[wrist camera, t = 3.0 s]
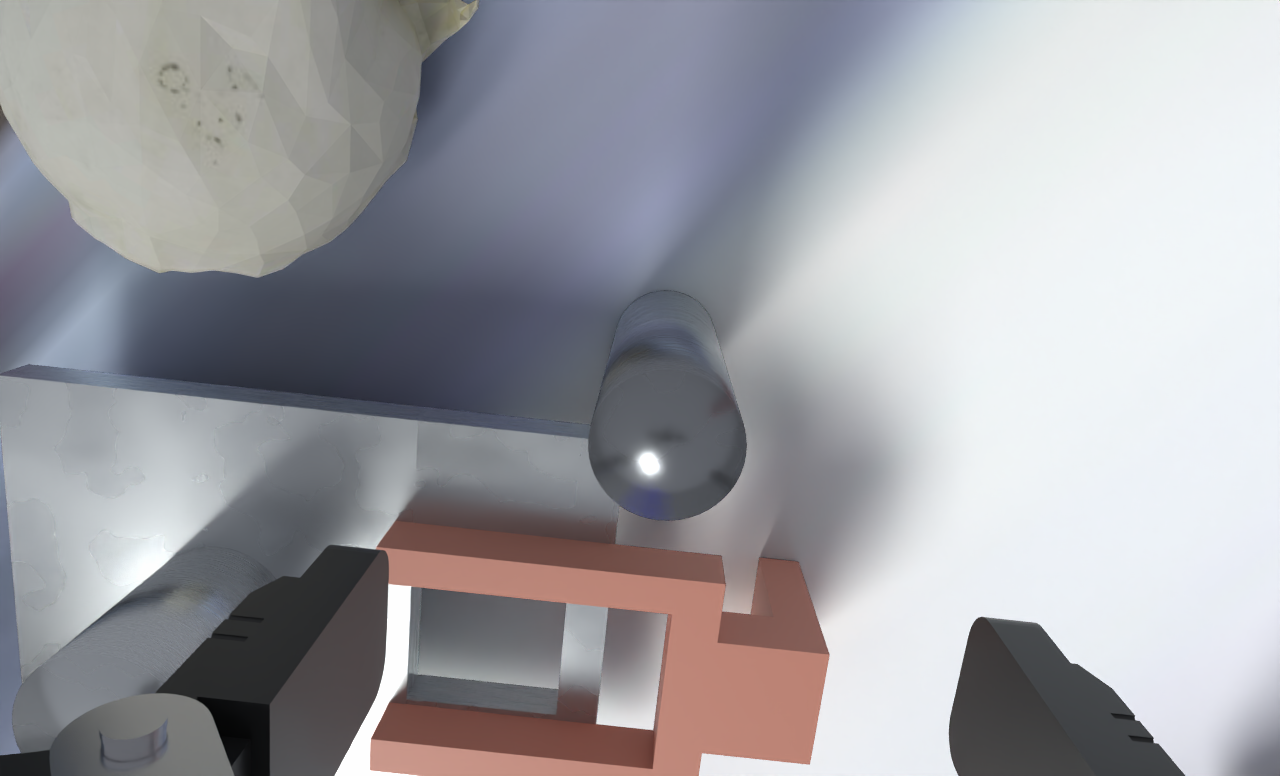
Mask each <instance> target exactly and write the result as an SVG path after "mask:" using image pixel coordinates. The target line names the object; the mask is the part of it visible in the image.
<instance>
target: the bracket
mask: <svg viewBox="0 0 1280 776" xmlns="http://www.w3.org/2000/svg"><path fill="white" fill-rule="evenodd" d="M376 549H377V550H385V551H386V553H387V555H388V560H389V584H392V585H401V586H411V587H420V588H429V589H439V590H448V591H457V592H467V593H476V594H486V595H495V596H504V597H514V598H523V599H532V600H542V601H551V602H560V603H570V604H579V605H588V606H598V607H607V608H616V609H626V610H635V611H644V612H654V613H663V614H668V617H667V625H666V633H665V641H664V649H663V657H662V665H661V673H660V681H659V689H658V697H657V705H656V713H655V721H654V729H653V730H645V729H635V728H626V727H617V726H607V725H598V724H588V723H579V722H570V721H560V720H551V719H542V718H532V717H523V716H513V715H504V714H495V713H485V712H476V711H466V710H457V709H448V708H438V707H429V706H420V705H410V704H401V703H391V702H389V703H388V705H387V707H386V709H385V711H384V713H383V715H382V717H381V719H380V721H379V723H378V725H377V727H376V729H375V731H374V733H373V735H372V737H371V739H370V766H369V771H377V772H386V773H396V774H405V775H415V776H699V769H700V762H701V755H702V753H706V754H716V755H725V756H734V757H744V758H753V759H762V760H772V761H781V762H791V763H800V764H809V765H810V760H811V755H812V749H813V744H814V738H815V733H816V727H817V721H818V716H819V710H820V705H821V699H822V694H823V688H824V683H825V677H826V671H827V666H828V660H829V652H828V649H827V646H826V643H825V640H824V637H823V634H822V631H821V628H820V625H819V622H818V619H817V616H816V613H815V610H814V607H813V604H812V601H811V598H810V595H809V592H808V589H807V586H806V583H805V580H804V577H803V574H802V571H801V568H800V565H799V562H797V561H787V560H778V559H769V558H759V563H758V569H757V576H756V582H755V589H754V596H753V602H752V609H751V615H750V614H741V613H731V612H722V607H723V600H724V593H725V586H726V583H725V576H724V569H723V563H722V556H720V555H710V554H701V553H692V552H682V551H673V550H664V549H654V548H645V547H636V546H626V545H617V544H608V543H598V542H589V541H580V540H570V539H561V538H552V537H542V536H533V535H524V534H514V533H505V532H496V531H486V530H477V529H468V528H458V527H449V526H440V525H430V524H421V523H412V522H402V521H395V522H394V523H393V525H392V526H391V527H390V529H389V530H388V532H387V533H386V534H385V536H384V537H383V538H382V540H381V541H380V542H379V544H378V545H377V547H376Z"/></svg>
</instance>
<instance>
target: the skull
mask: <svg viewBox="0 0 1280 776" xmlns="http://www.w3.org/2000/svg"><path fill="white" fill-rule="evenodd" d="M478 7H479V0H475V1H473V2H472V3H470V4H467V3H465V2H463V1H461V0H0V104H1V107H2V110H3V112H4V115H5V116H6V118H7V120H8V121H9V123H10V125H11V126H12V128H13V130H14V131H15V133H16V135H17V136H18V138H19V140H20V141H21V143H22V145H23V147H24V148H25V150H26V152H27V153H28V155H29V157H30V158H31V160H32V162H33V163H34V164H35V166H36V167H37V168H38V169H39V170H40V172H41V173H42V174H43V175H44V176H45V178H46V179H47V180H48V181H49V182H50V183H51V184H52V185H53V186H54V187H55V188H56V189H57V190H58V191H59V192H60V193H61V194H62V195H63V196H64V197H65V198H66V199H67V200H68V201H69V206H70V211H71V217H72V218H73V220H74V221H75V222H76V223H77V224H78V225H79V226H80V227H82V228H83V229H84V230H85V231H87V232H88V233H89V234H90V235H91V236H93V237H94V238H95V239H97V240H99V241H100V242H102V243H104V244H105V245H107V246H108V247H110V248H111V249H113V250H114V251H116V252H117V253H118V254H120V255H121V256H123V257H124V258H126V259H128V260H130V261H132V262H135V263H137V264H139V265H141V266H144V267H146V268H148V269H151V270H153V271H155V272H158V273H163V272H168V271H180V272H189V273H195V272H204V271H212V270H215V271H223V272H230V273H237V274H242V275H247V276H252V277H257V278H259V277H262V276H265V275H268V274H270V273H273V272H276V271H279V270H282V269H284V268H285V267H287V266H288V265H289V264H291V263H292V262H294V261H295V260H296V259H298V258H299V257H300V256H302V255H303V254H305V253H307V252H310V251H312V250H314V249H316V248H318V247H321V246H323V245H325V244H327V243H330V242H331V241H332V240H333V239H335V238H336V237H337V236H338V235H340V234H341V233H342V232H344V231H345V230H346V229H347V228H348V227H349V226H350V225H351V224H352V223H353V222H354V221H355V220H356V219H357V217H358V216H359V215H360V214H361V213H362V212H363V211H364V209H365V208H366V207H367V206H368V204H369V203H370V202H371V200H372V199H373V198H374V197H375V195H376V194H377V193H378V191H379V190H380V189H381V188H382V186H383V185H384V184H385V183H386V181H387V180H388V179H389V178H390V177H391V176H392V175H393V174H394V173H395V172H396V171H397V170H398V169H399V168H400V167H401V166H402V165H403V164H404V163H405V162H406V161H407V158H408V154H409V151H410V147H411V143H412V139H413V135H414V132H415V128H416V124H417V120H418V118H417V111H416V107H417V103H418V100H419V96H420V81H421V64H422V62H423V61H424V60H425V59H426V58H427V57H429V56H430V55H431V54H432V53H433V52H434V51H435V50H436V49H437V48H438V47H439V46H440V45H441V44H442V43H443V42H444V41H445V40H446V39H448V38H449V37H450V36H452V35H453V34H455V33H456V32H458V31H459V30H460V29H461V28H462V27H463V26H464V25H465V24H466V23H467V22H468V21H469V20H470V19H471V18H472V16H473V15H474V14H475V12H476V11H477V9H478Z"/></svg>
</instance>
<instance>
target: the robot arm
mask: <svg viewBox="0 0 1280 776" xmlns="http://www.w3.org/2000/svg"><path fill="white" fill-rule="evenodd" d="M388 586H389V560H388V555H387V553H386V551H385V550H377V549H368V548H359V547H350V546H341V545H329V546H327V547H326V548H325V549H324V551H323V552H322V553H321V554H320V555H319V556H318V557H317V559H316V560H315V561H314V562H313V563H312V564H311V566H310V567H309V568H308V569H307V570H306V571H305V572H304V574H303V575H302V576H301V577H300V578H299V577H289V576H282V577H280V578H278V579H276V580H274V581H272V582H270V583H268V584H266V585H264V586H263V587H261V588H259V589H257V590H255V591H253V592H251V593H249V594H248V596H247V597H246V598H245V599H244V600H243V601H242V602H241V603H240V604H239V605H238V606H237V607H236V608H235V609H234V610H233V611H232V612H231V613H230V614H229V619H225V620H224V621H223V622H222V623H221V624H220V625H219V626H218V627H217V628H216V629H215V630H214V631H213V632H212V636H211V638H207V639H206V640H205V641H204V642H203V643H202V644H201V645H200V646H199V647H198V648H197V649H196V650H195V651H194V652H193V653H192V654H191V655H190V657H189V658H188V659H187V660H186V661H185V662H184V663H183V664H182V665H181V666H180V667H179V668H178V669H177V670H176V671H175V672H174V673H173V674H172V675H171V676H170V678H169V679H168V680H167V681H166V682H165V683H164V684H163V685H162V686H161V687H160V688H159V689H158V690H157V691H156V692H155V693H154V694H143V695H136V696H131V697H126V698H122V699H118V700H115V701H111V702H109V703H106V704H103V705H101V706H98V707H96V708H94V709H92V710H90V711H88V712H86V713H84V714H83V715H81V716H79V717H78V718H76V719H75V720H73V721H72V722H71V723H69V724H68V725H67V726H66V727H65V728H64V729H63V730H62V731H61V732H60V733H59V734H58V735H57V737H56V738H55V740H54V741H53V743H52V746H51V748H50V750H45V751H38V752H29V753H20V754H10V755H0V776H335V775H336V773H337V771H338V769H339V767H340V766H341V764H342V762H343V760H344V758H345V756H346V754H347V752H348V751H349V749H350V747H351V745H352V743H353V741H354V739H355V737H356V736H357V734H358V732H359V730H360V728H361V726H362V724H363V722H364V721H365V719H366V717H367V715H368V713H369V711H370V709H371V707H372V706H373V704H374V702H375V700H376V697H377V695H378V692H379V689H380V685H381V681H382V677H383V672H384V667H385V659H386V642H387V614H388ZM949 744H950V752H951V757H952V761H953V764H954V767H955V769H956V771H957V773H958V775H959V776H1185V775H1184V774H1183V773H1182V771H1181V770H1180V769H1179V768H1178V767H1177V765H1176V764H1175V763H1174V762H1173V761H1172V759H1171V758H1170V757H1169V756H1168V755H1167V753H1166V752H1165V751H1164V750H1163V749H1162V747H1161V746H1160V745H1159V744H1156V743H1154V742H1153V737H1152V736H1151V734H1150V733H1149V732H1148V731H1147V730H1146V728H1145V727H1144V726H1143V725H1142V724H1141V722H1140V721H1135V715H1134V714H1133V713H1132V712H1131V710H1130V709H1129V708H1128V707H1127V706H1126V705H1125V703H1124V702H1123V701H1122V700H1121V699H1120V697H1119V696H1118V695H1117V694H1116V693H1115V691H1114V690H1113V689H1112V688H1110V687H1109V686H1108V685H1106V684H1105V683H1103V682H1102V681H1101V680H1099V679H1098V678H1096V677H1095V676H1093V675H1092V674H1091V673H1089V672H1088V671H1086V670H1085V669H1084V668H1082V667H1081V666H1079V665H1078V664H1071V663H1070V662H1069V661H1068V659H1067V658H1066V657H1065V656H1064V654H1063V653H1062V652H1061V651H1060V649H1059V648H1058V647H1057V646H1056V644H1055V643H1054V642H1053V641H1052V639H1051V638H1050V637H1049V636H1048V634H1047V633H1046V632H1045V631H1044V629H1043V628H1042V627H1041V626H1040V625H1039V624H1037V623H1032V622H1023V621H1014V620H1004V619H995V618H986V617H979V618H978V619H976V620H975V622H974V623H973V625H972V627H971V630H970V633H969V636H968V641H967V645H966V650H965V654H964V658H963V663H962V667H961V672H960V676H959V681H958V685H957V690H956V694H955V698H954V703H953V707H952V712H951V717H950V724H949Z"/></svg>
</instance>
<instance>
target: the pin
mask: <svg viewBox="0 0 1280 776" xmlns="http://www.w3.org/2000/svg"><path fill="white" fill-rule="evenodd" d="M746 448H747V443H746V433H745V428H744V424H743V421H742V418H741V414H740V411H739V408H738V404H737V401H736V398H735V395H734V391H733V388H732V385H731V381H730V378H729V375H728V371H727V368H726V365H725V362H724V358H723V355H722V352H721V348H720V345H719V342H718V338H717V335H716V332H715V328H714V325H713V323H712V320H711V318H710V316H709V314H708V313H707V311H706V310H705V309H704V308H703V306H702V305H701V304H700V303H698V302H697V301H696V300H694V299H693V298H691V297H690V296H687V295H685V294H683V293H680V292H675V291H665V290H664V291H656V292H651V293H649V294H646V295H644V296H642V297H640V298H638V299H637V300H635V301H634V302H633V303H632V304H631V305H630V306H629V307H628V308H627V309H626V310H625V311H624V313H623V315H622V316H621V318H620V320H619V322H618V326H617V329H616V333H615V336H614V340H613V344H612V348H611V351H610V355H609V359H608V363H607V366H606V370H605V374H604V378H603V381H602V385H601V389H600V393H599V396H598V400H597V404H596V408H595V411H594V415H593V419H592V423H591V426H590V431H589V437H588V453H589V460H590V464H591V468H592V470H593V473H594V475H595V477H596V479H597V481H598V483H599V484H600V486H601V487H602V488H603V490H604V491H605V492H606V494H607V495H608V496H609V497H610V498H611V499H612V500H613V501H615V502H616V503H617V504H618V505H620V506H621V507H623V508H624V509H626V510H628V511H629V512H632V513H634V514H636V515H639V516H642V517H645V518H649V519H654V520H665V521H670V520H681V519H686V518H690V517H693V516H696V515H699V514H701V513H703V512H705V511H707V510H709V509H710V508H712V507H713V506H715V505H716V504H718V503H719V502H720V501H721V500H722V499H723V498H724V497H725V496H726V495H727V494H728V493H729V492H730V491H731V489H732V488H733V487H734V485H735V484H736V482H737V480H738V478H739V476H740V474H741V472H742V469H743V466H744V462H745V457H746Z"/></svg>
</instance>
